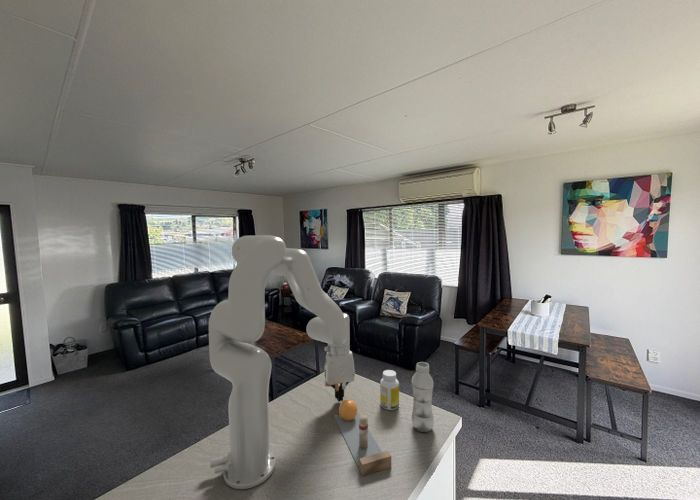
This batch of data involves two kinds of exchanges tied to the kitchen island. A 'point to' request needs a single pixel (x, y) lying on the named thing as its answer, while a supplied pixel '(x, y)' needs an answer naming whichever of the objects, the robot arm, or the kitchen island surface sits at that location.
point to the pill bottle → (389, 390)
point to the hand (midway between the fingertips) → (339, 399)
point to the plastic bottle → (422, 398)
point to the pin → (363, 432)
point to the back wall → (375, 463)
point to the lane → (356, 438)
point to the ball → (348, 410)
